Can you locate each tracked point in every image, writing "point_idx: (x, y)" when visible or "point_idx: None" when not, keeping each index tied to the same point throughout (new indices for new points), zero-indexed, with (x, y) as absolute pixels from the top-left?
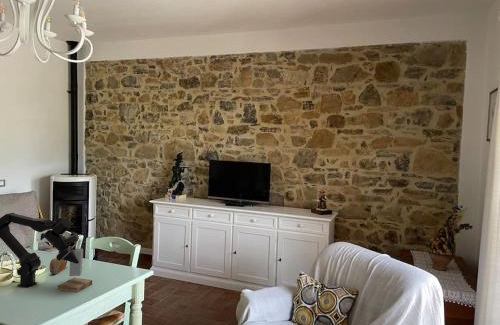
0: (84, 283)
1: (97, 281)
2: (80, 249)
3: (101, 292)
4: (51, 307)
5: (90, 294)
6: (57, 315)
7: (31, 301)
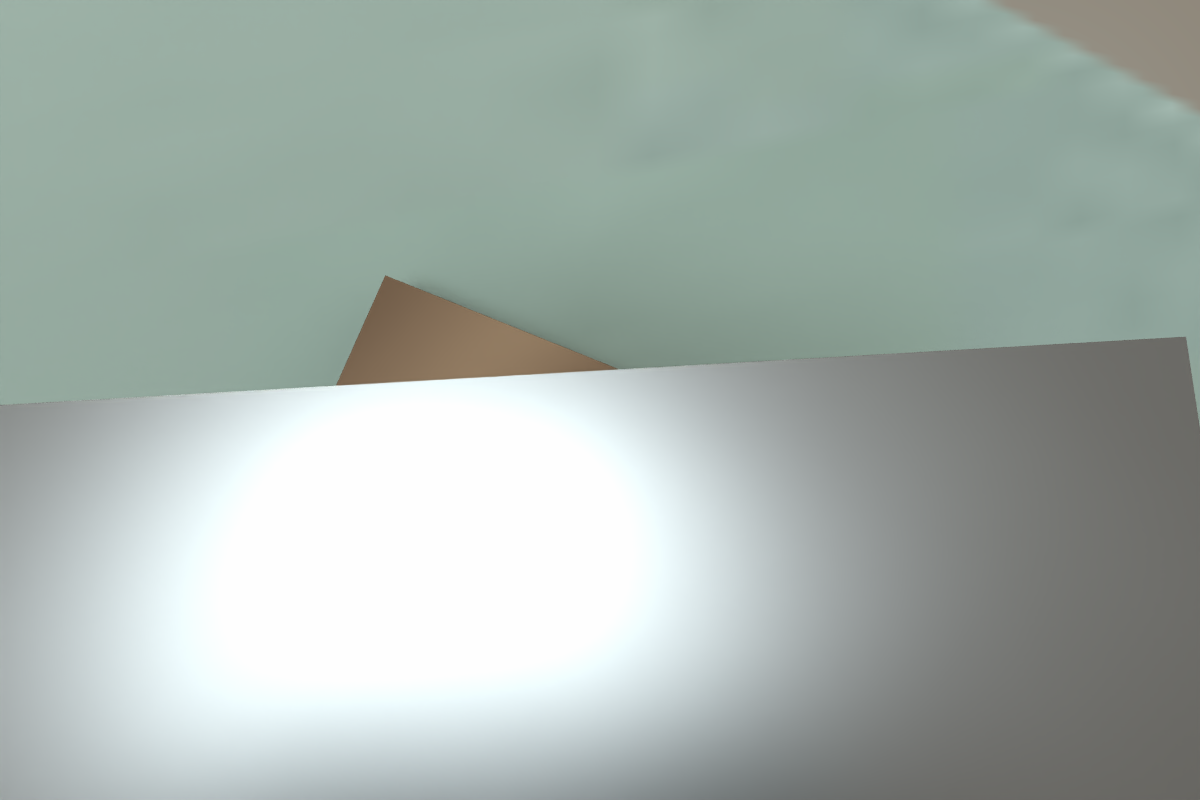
0: None
1: (243, 219)
2: (123, 695)
3: (891, 20)
4: None
5: (998, 206)
6: None
7: None
